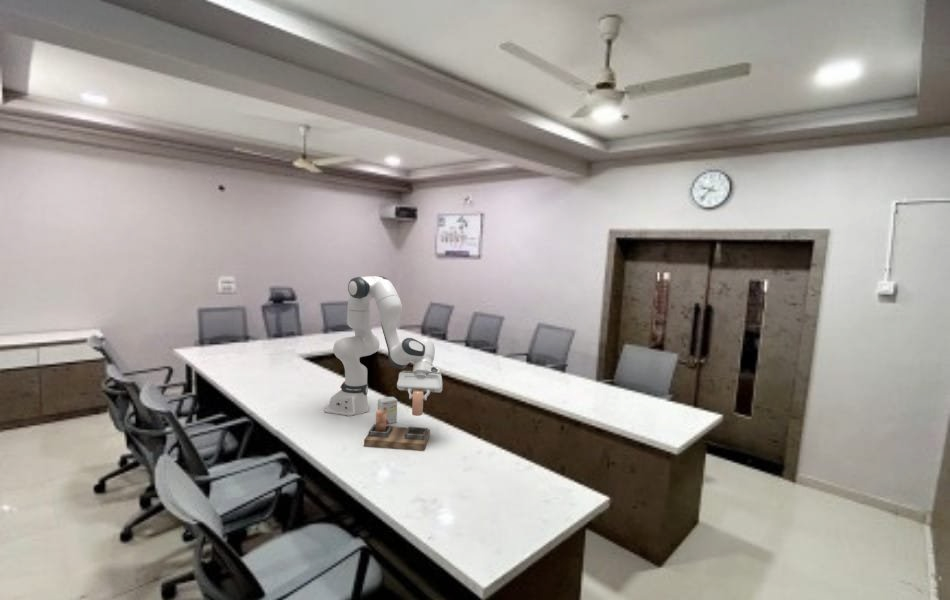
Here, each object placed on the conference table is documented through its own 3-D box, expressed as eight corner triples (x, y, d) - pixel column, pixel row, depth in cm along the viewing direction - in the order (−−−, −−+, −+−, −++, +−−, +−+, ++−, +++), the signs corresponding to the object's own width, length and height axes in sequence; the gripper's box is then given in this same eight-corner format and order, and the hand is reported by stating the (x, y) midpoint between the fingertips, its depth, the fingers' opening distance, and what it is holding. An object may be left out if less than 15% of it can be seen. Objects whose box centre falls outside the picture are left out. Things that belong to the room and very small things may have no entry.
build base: (364, 446, 193) (364, 416, 192) (374, 431, 209) (375, 404, 208) (424, 450, 192) (425, 421, 191) (429, 435, 208) (431, 408, 207)
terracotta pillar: (411, 415, 197) (412, 393, 196) (413, 411, 201) (413, 390, 200) (421, 416, 197) (422, 393, 196) (423, 412, 201) (424, 390, 200)
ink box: (380, 425, 216) (381, 401, 215) (376, 422, 220) (377, 398, 219) (396, 422, 222) (397, 399, 220) (392, 419, 226) (393, 396, 224)
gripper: (398, 366, 204) (393, 394, 196) (443, 369, 203) (440, 397, 195) (400, 373, 209) (395, 401, 201) (444, 376, 208) (440, 404, 200)
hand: (417, 399), depth 198 cm, fingers closed on terracotta pillar, 5 cm apart
